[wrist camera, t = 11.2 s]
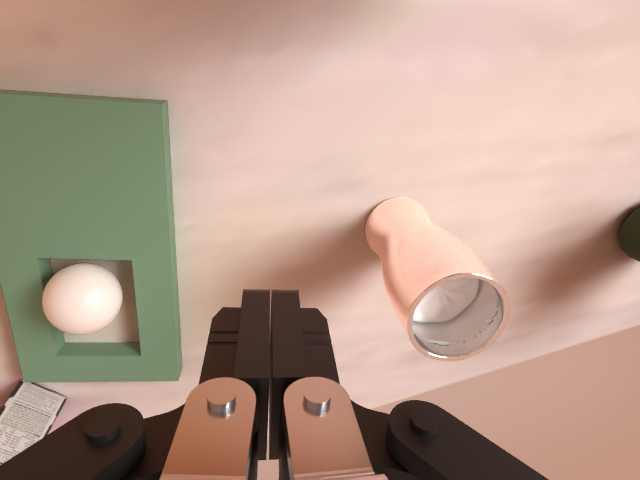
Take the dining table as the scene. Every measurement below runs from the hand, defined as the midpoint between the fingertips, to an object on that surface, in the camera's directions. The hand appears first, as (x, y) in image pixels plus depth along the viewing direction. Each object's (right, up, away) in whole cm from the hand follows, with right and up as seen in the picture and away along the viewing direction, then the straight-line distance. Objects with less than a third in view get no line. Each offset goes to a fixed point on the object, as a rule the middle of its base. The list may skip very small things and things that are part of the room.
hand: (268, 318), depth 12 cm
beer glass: (+9, +3, +29) cm, 31 cm away
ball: (-18, -3, +26) cm, 32 cm away
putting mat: (-18, +1, +27) cm, 33 cm away
